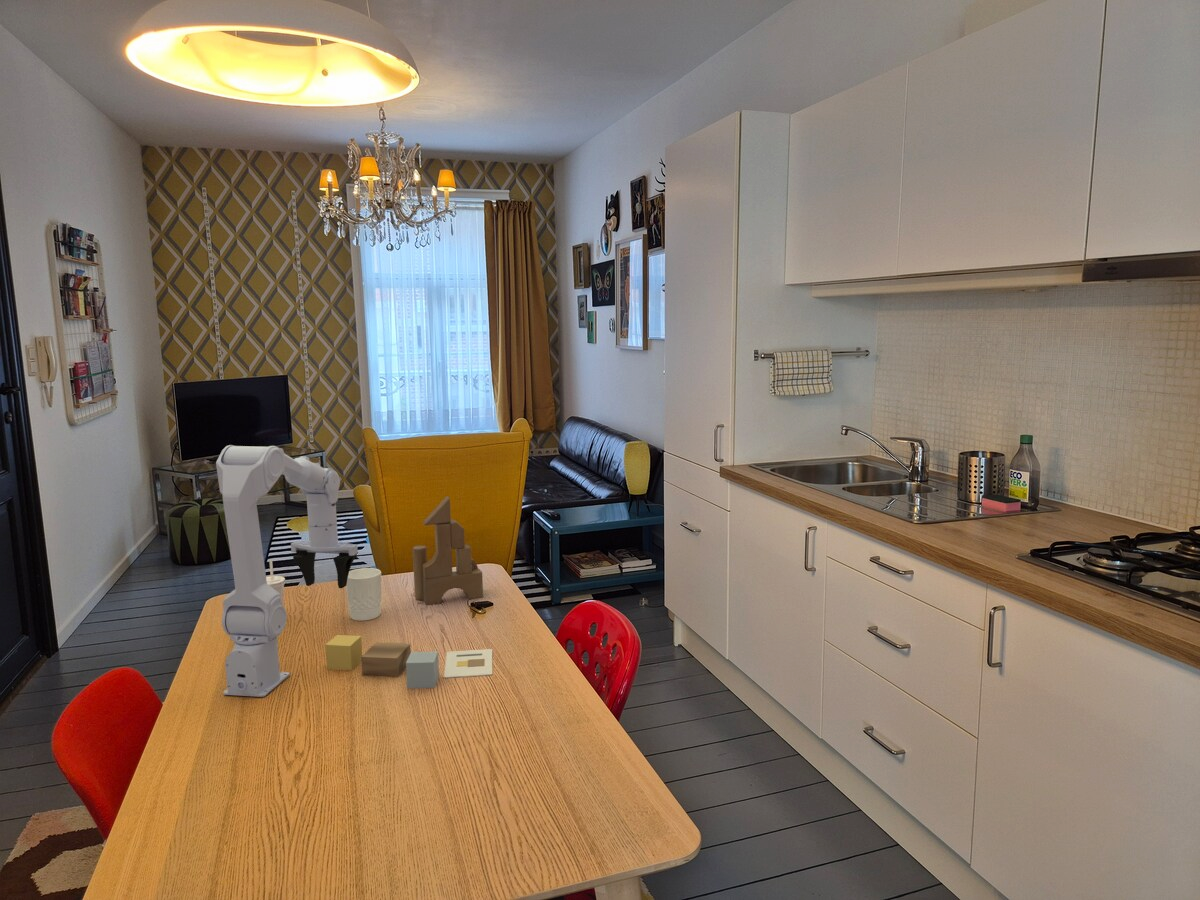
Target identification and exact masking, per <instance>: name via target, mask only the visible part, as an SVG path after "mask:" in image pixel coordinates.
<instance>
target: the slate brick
mask: <svg viewBox="0 0 1200 900" xmlns="http://www.w3.org/2000/svg"><path fill="white" fill-rule="evenodd" d="M439 665H440V664H439V651H438V650H436V651H435V650H434V651H411V653H410V655H409V658H408V660H407V662H406V669H405V670H406V689H411V690H412V689H436V686H437V683H438V680H439V677H440V666H439Z"/></svg>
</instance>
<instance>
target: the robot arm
mask: <svg viewBox="0 0 1200 900" xmlns="http://www.w3.org/2000/svg"><path fill="white" fill-rule="evenodd" d="M215 466H216V473H217V481H218V486H219V487H218V488H219V492H220V494H221V495H222V503H223V511H224V516H225V517H224V518H225V526H226V530H227V531H226V532H227V537H228V538H227V539H228V546H229V552H230V561H231V567H232V573H233V581H234V587H235V588H234V589H233V590H231V591H230V592H229V593H228V594H227V595H226V596H225V598H224V599H223V600H222V607H223V608H222V616H221V626H222V629H223V631H224V633H226V635H228V636H229V637H230V641H232V642H233V643H234V645H233V648H232V650H231V651H230V652H229V653H228V655H227V656H226V659H225V662H224V663H225V664H224V665H225V676H226V677H225V678H226V688H227V689H225V690H223V692H222V695H224V696H240V697H241V696H242V697H259V698H260V697H261V698H263V697H266V696H267V695H268V694H270V693H271V692H272V690H274V689H275V688H276V687H278V686H279V685H280V684H281V683H282V682H283V681H284V680H286V679H287V678H288V677H289V676H290V675H291V673H290V672H288V671H287V672H286V671H281V670H280V658H279V642H278V637H279V636H280V635H281V634H282V633H283V632H284V630H285V628H286V624H287V620H288V619H287V616H288V615H287V611H286V609H285V606H284V603H283V604H282V601H281V595H280V593H278V592H277V591H276V590H275V589H273V588H272V587H271V586H269V585H268V584H267V580H266V577H267V575H266V574H267V573H266V566H265V557H264V552H263V544H262V537H261V528H260V520H259V519H260V518H259V512H258V506H257V502H258V500H259V498H261V497H263V496H265V495H267V494H268V493H269V491H271V489H272V488H273V487H274V486H275V484H276V482H277V481H279V478H280V477H281V475H282V476H284V478H285V480H286V481H287V483H288V484H290V485H292V486H294V487H296V488H298V489H300V492H301V493H302V495H304V496H305V495H306V507H307V509H306V510H307V520H308V525H307V526H308V535H309V536H308V539H309V540H307V541H302V540H298V541H297V540H296V541H294V542H291V543H290V548H291V549H290V550H291V553H295V555H293V556H292V559H293V561H294V562H295V564H296V565H297V566H298V568H299V569H300V571H301V574H302V577H303V580H304V582H305V585H306V587H310V586H312V585H314V584H315V579H316V578H315V577H316V576H315V560H316V554H319V553H320V554H334V555H335V554H336V556H335V557H333V560H332V561H333V562H334V565H335V569H336V574H337V585H338V589H343V588H346V585H347V579H348V574H349V571H351V567H352V565H353V562H354V560H355V558H356V557H357V554H358V553H359V552H358V544H353V543H348V542H342V541H339V537H338V535H339V534H338V523H337V522H338V521H337V520H338V519H337V504H336V503H337V502H338V499H339V489H340V484H341V479H340V477H339V474H338V472H337V471H336V470H335V469H333V468H332V467H331V468H330V467H327V468H326V467H323V466H321V464H320V463H319V462H312V461H311V460H310V457H308V456H303V455H302V456H299V457H295V458H293V457H291V456H289V455H288V454H286V453H285V452H284V449H283V448H281V447H278V446H276V445H269V446H253V445H252V446H247V445H246V446H245V445H244V446H243V445H233V444H229V445H226V446H225V447H224V448H223V449H222V450H221V452H220V454H219V456H218V458H217V460H216V462H215Z"/></svg>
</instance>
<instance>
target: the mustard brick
mask: <svg viewBox="0 0 1200 900" xmlns="http://www.w3.org/2000/svg"><path fill="white" fill-rule="evenodd" d="M362 645H363V643H362V635H345V634H344V635H343V634H337V635H335V636H334V637H333V638H331V639H330V640H329V641H328V642H327V643H326V644H325V658H326V659H325V662H326V670H334V671H337V670H338V671H353V670H354V669H355V667H357V666H358V665H359V664H360V663H361V656H362V655H363V647H362Z"/></svg>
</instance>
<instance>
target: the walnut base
mask: <svg viewBox="0 0 1200 900" xmlns="http://www.w3.org/2000/svg"><path fill="white" fill-rule="evenodd" d="M411 650H412V649H411V643H400V642H399V643H398V642H379V641H378V642H377V641H376V642H375V643H374V644H372V646H370V647H369V648H368V650H366V651H365V652H364V653H362V656H361V662H360V663H361V674H362V676H364V677H379V678H380V677H382V678H384V677H385V678H399V677H400V675H401V674H403V672H404V671H405V670H406V662H407V660H408V658H409V655H410V653H411V652H412V651H411Z"/></svg>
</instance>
